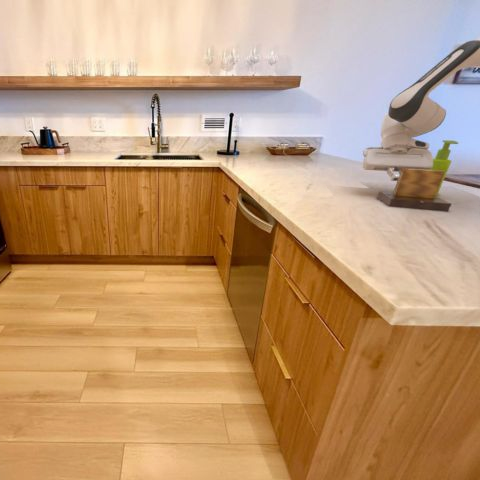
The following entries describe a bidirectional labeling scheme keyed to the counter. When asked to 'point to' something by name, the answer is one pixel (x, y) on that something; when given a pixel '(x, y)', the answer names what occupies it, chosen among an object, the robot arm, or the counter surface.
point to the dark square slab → (413, 202)
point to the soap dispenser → (443, 160)
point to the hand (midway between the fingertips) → (396, 180)
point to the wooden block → (418, 183)
